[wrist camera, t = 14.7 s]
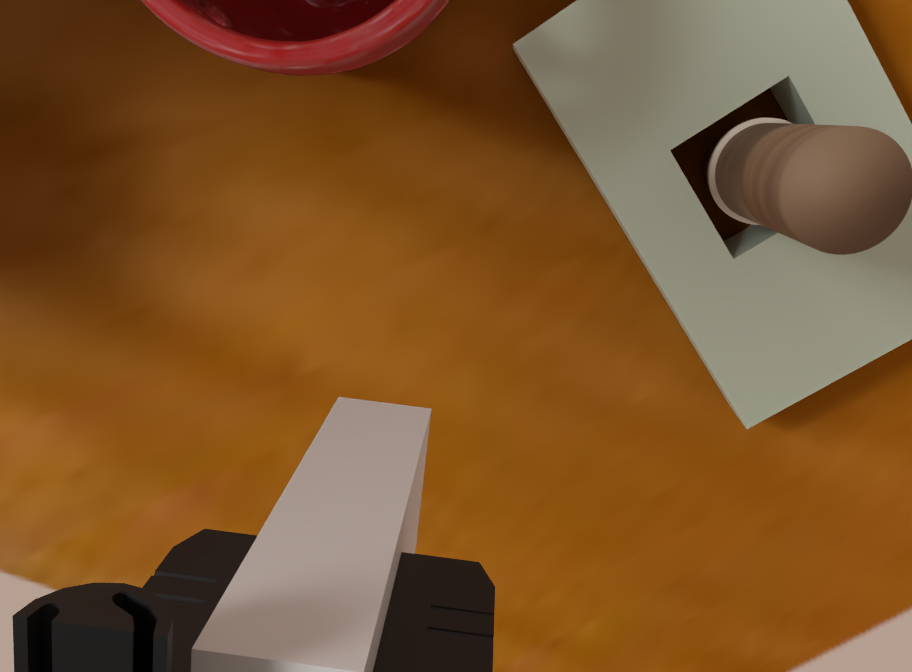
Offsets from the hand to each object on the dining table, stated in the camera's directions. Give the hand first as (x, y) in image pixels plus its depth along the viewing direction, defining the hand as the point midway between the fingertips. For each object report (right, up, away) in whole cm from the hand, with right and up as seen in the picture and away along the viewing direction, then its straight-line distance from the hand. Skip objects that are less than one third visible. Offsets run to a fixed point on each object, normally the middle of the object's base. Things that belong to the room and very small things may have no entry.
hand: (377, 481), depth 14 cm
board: (+14, +10, +26) cm, 31 cm away
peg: (+14, +10, +26) cm, 31 cm away
